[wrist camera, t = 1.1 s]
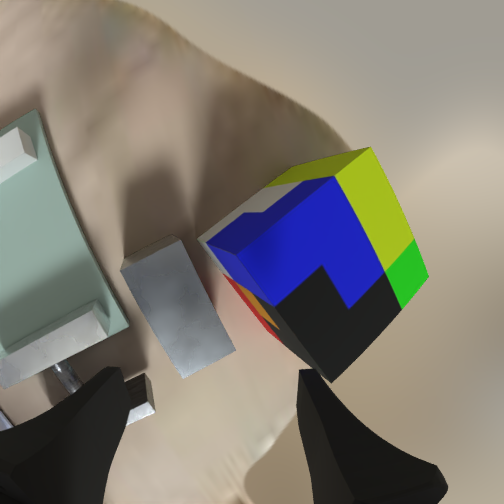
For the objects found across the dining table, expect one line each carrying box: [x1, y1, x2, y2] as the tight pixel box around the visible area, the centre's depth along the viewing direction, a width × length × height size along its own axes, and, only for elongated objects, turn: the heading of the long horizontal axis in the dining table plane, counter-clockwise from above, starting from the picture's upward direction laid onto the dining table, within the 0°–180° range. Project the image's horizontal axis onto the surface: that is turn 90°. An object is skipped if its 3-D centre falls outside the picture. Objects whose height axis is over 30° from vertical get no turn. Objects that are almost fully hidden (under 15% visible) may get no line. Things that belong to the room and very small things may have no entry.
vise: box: [0, 109, 129, 384], centre depth 17 cm, size 12×18×4 cm, turn 24°
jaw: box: [0, 298, 156, 425], centre depth 18 cm, size 10×8×4 cm
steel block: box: [120, 234, 236, 378], centre depth 21 cm, size 4×8×6 cm, turn 24°
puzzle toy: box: [197, 147, 429, 383], centre depth 22 cm, size 10×10×10 cm
